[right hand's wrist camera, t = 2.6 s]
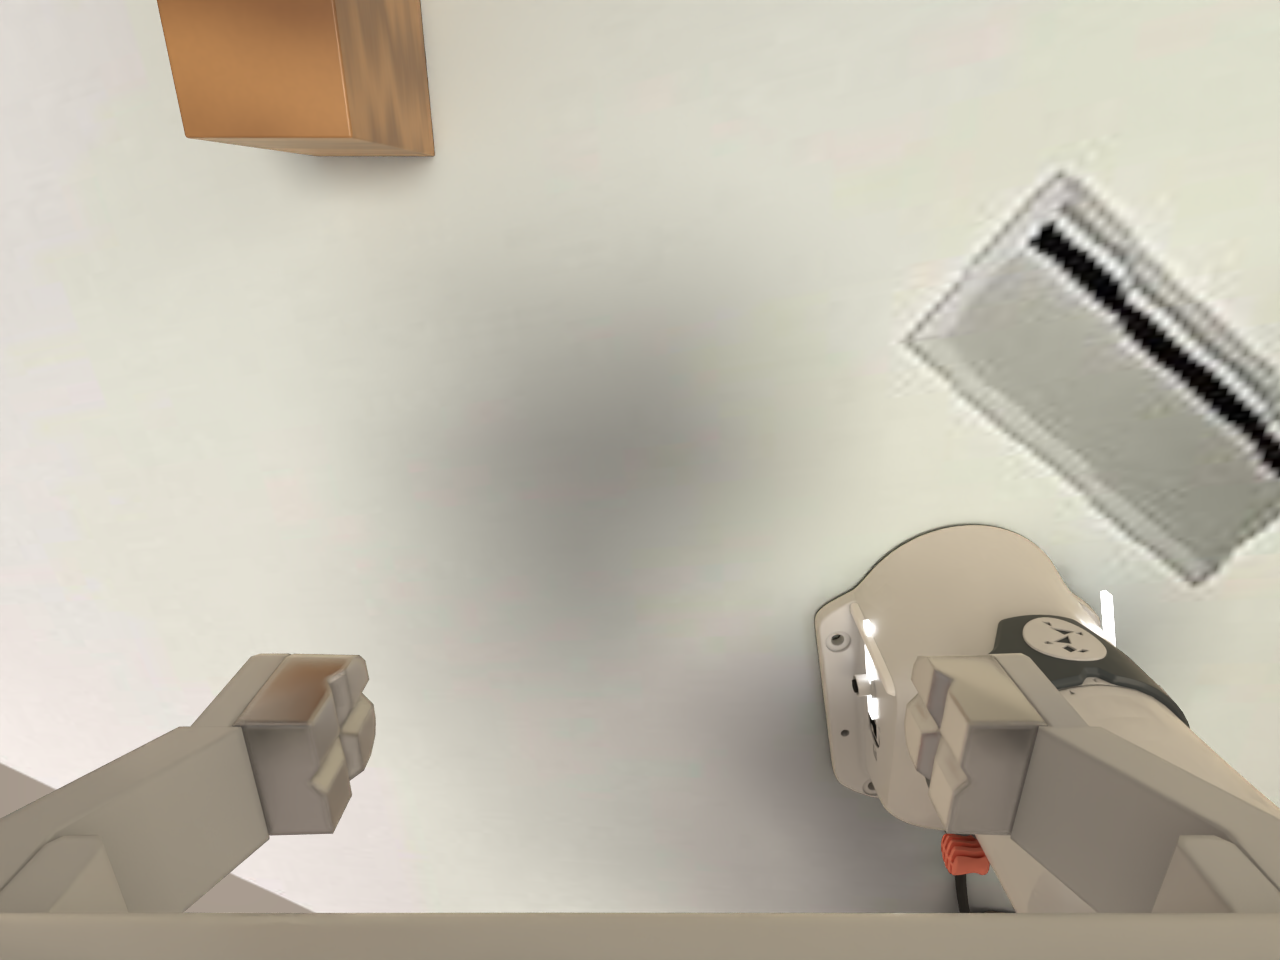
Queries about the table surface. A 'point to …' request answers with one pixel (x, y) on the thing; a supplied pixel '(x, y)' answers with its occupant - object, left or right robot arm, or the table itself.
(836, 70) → the table surface
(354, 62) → the box
